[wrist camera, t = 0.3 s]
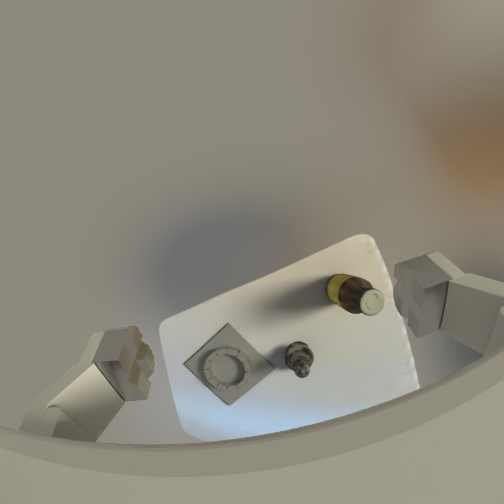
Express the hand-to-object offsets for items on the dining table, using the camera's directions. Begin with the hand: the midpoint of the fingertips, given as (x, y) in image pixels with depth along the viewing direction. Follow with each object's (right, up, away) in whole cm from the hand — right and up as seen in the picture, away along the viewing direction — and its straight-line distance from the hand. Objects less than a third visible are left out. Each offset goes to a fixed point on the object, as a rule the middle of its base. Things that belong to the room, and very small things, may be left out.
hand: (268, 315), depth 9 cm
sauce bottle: (+18, -6, +52) cm, 55 cm away
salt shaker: (+9, -20, +52) cm, 57 cm away
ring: (-6, -23, +52) cm, 58 cm away
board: (-6, -23, +53) cm, 58 cm away
